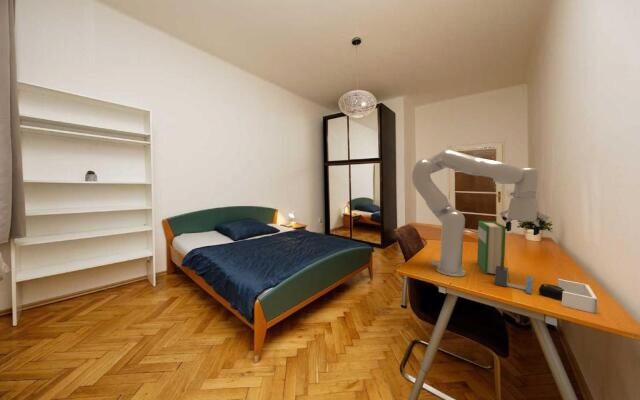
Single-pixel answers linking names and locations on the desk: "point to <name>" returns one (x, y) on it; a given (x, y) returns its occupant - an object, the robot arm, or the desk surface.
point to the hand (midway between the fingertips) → (521, 232)
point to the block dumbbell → (501, 280)
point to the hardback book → (490, 246)
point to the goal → (578, 296)
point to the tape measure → (551, 290)
